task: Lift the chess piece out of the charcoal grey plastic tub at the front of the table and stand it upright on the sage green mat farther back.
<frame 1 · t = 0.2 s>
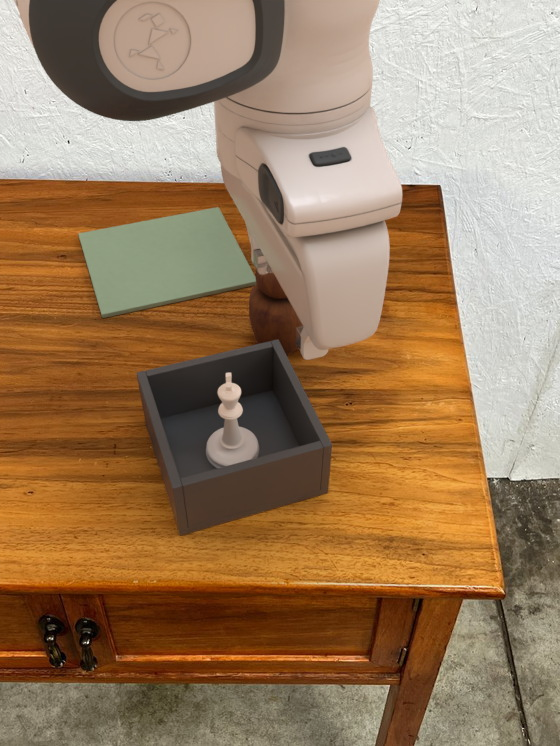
hand: (287, 307, 55), 21 cm above the table, tool pointing down, fingers open, 8 cm apart
wooden figurine: (278, 344, 83), on the table
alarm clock: (330, 252, 94), on the table
chess piece: (232, 451, 72), point 1 cm above the table, touching tub
tub: (233, 455, 72), on the table
mat: (165, 260, 93), on the table
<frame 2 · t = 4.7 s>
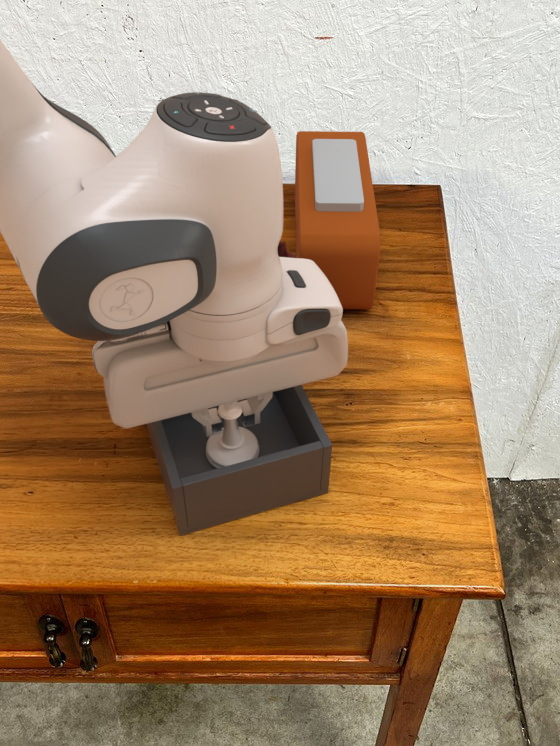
hand: (231, 424, 69), 4 cm above the table, tool pointing down, fingers closed on chess piece
chess piece: (232, 451, 72), point 1 cm above the table, touching gripper, tub
everything else where it was.
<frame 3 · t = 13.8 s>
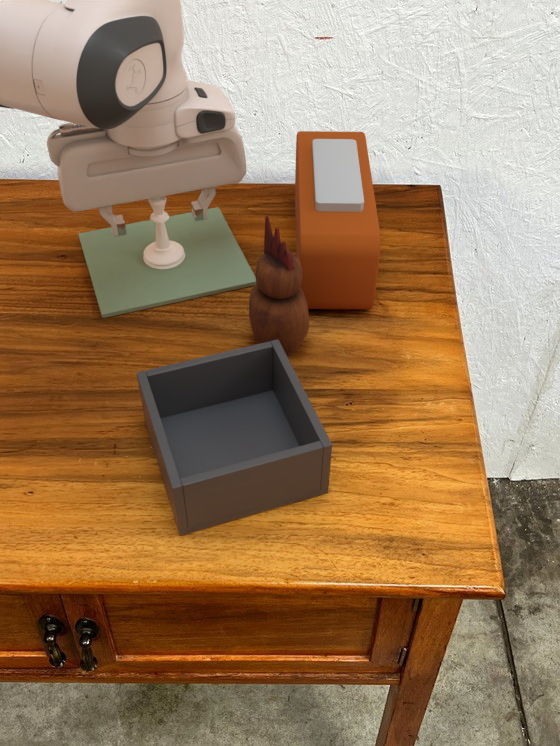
hand: (160, 225, 89), 5 cm above the table, tool pointing down, fingers open, 8 cm apart
chess piece: (164, 258, 92), resting on mat
everything else where it was.
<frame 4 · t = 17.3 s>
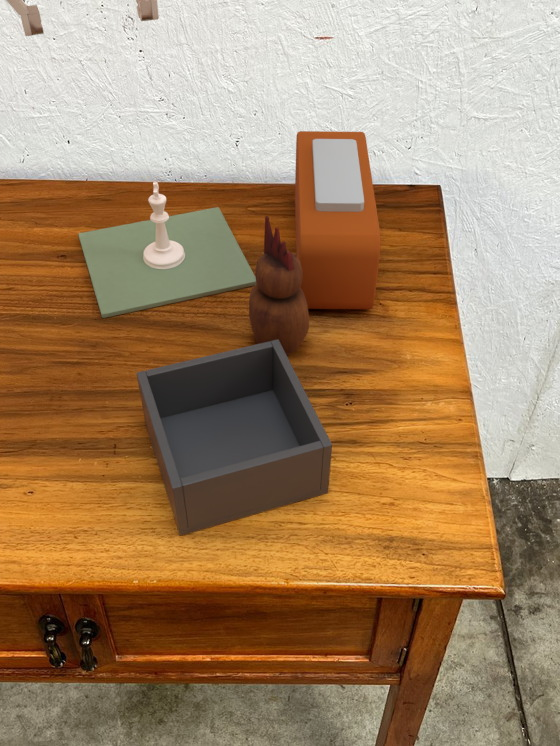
hand: (92, 25, 64), 31 cm above the table, tool pointing down, fingers open, 8 cm apart
nothing on the table moved.
at the end: chess piece inside the target area on the mat (0.1 cm from its centre), point 0.4 cm above the mat's base; chess piece tilted 0°; chess piece touching mat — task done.
